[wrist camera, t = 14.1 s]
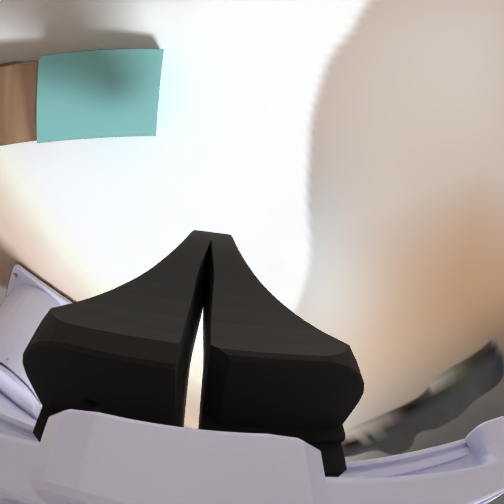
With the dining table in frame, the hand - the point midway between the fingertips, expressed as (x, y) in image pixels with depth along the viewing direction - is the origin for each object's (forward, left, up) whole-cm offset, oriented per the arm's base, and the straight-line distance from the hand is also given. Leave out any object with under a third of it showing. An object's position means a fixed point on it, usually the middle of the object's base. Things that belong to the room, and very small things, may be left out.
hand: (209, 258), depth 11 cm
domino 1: (-1, +10, -9) cm, 14 cm away
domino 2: (+2, +6, -9) cm, 11 cm away
